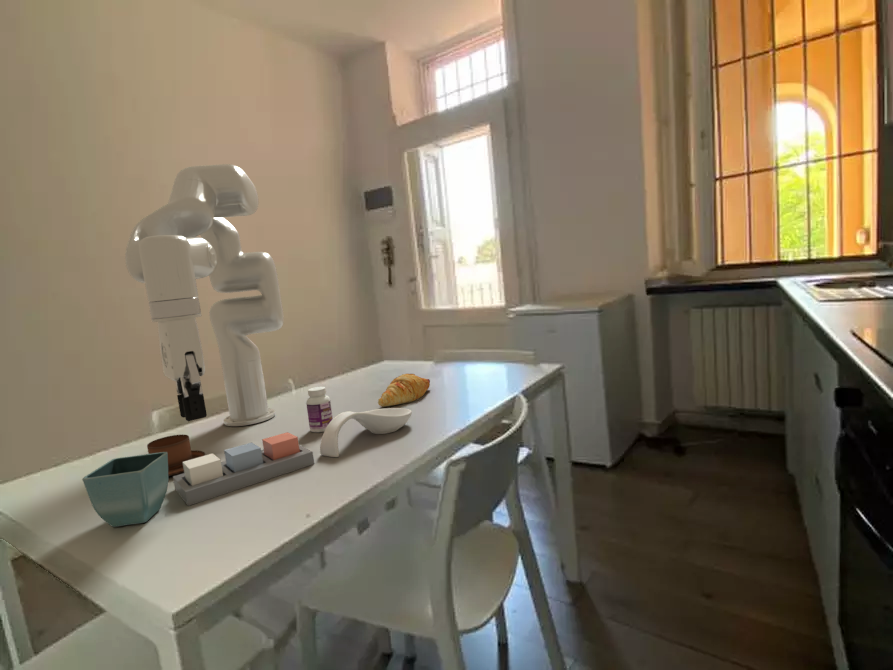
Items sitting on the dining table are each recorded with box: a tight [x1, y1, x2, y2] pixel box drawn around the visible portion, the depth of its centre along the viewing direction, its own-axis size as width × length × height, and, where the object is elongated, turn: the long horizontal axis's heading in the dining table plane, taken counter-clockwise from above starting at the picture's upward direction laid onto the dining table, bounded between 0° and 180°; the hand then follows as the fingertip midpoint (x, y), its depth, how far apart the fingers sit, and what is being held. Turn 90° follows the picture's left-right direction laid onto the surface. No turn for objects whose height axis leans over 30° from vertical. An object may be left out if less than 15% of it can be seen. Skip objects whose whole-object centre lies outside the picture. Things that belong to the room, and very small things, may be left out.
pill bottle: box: [305, 386, 334, 433], centre depth 120 cm, size 5×5×10 cm
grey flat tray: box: [172, 444, 315, 507], centre depth 96 cm, size 10×22×2 cm, turn 129°
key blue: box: [223, 442, 263, 472], centre depth 95 cm, size 5×5×3 cm
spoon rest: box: [319, 407, 412, 458], centre depth 111 cm, size 24×12×7 cm, turn 148°
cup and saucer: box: [146, 434, 206, 477], centre depth 103 cm, size 12×12×6 cm
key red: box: [261, 432, 300, 460], centre depth 100 cm, size 5×5×3 cm
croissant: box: [377, 373, 431, 407], centre depth 141 cm, size 21×10×8 cm, turn 147°
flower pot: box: [81, 452, 169, 528], centre depth 82 cm, size 9×9×9 cm
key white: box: [183, 452, 223, 486], centre depth 91 cm, size 5×5×3 cm
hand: (193, 416), depth 90 cm, fingers open, 3 cm apart
